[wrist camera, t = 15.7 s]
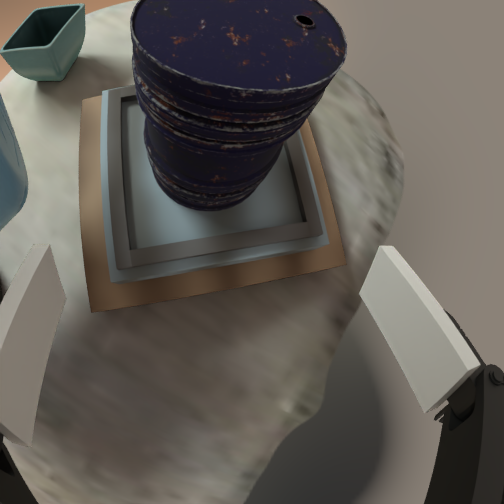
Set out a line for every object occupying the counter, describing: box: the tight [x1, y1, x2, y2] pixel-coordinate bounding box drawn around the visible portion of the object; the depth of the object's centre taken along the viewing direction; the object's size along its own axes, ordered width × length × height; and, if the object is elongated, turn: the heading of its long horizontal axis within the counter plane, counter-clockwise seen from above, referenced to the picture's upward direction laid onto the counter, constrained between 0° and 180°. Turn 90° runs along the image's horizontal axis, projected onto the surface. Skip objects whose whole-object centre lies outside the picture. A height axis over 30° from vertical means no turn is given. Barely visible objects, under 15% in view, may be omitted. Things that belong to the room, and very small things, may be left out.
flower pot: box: [0, 4, 85, 81], centre depth 25 cm, size 9×9×9 cm
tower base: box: [79, 85, 346, 313], centre depth 27 cm, size 24×22×8 cm
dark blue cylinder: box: [130, 0, 347, 212], centre depth 17 cm, size 10×10×15 cm
